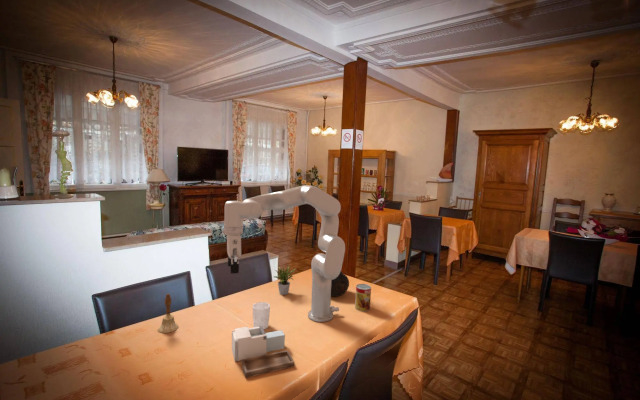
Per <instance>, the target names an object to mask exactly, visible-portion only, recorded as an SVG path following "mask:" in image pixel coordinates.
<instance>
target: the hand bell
mask: <svg viewBox="0 0 640 400" xmlns="http://www.w3.org/2000/svg"><path fill="white" fill-rule="evenodd" d="M164 305H165V311H166V312H165V314H166V315H164V316H162V320H161V324H160V325H159V326H158V328H157V331H158V332H159V333H160V334H169V333H172V332H176V330H178V329H179V324H178V323H176V321H175V316H174V315H173V314H171V305H172V297H171V294H170V293H166V295H165V298H164Z"/></svg>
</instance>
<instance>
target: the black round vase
mask: <svg viewBox="0 0 640 400" xmlns="http://www.w3.org/2000/svg"><path fill="white" fill-rule="evenodd" d="M349 280H350V279H349V278H348V276H347V275H346V274H345V273H343V272H342V271H341V272H340V274H339V275H338V277H337V278H335V279H333V280H331V297H338V296H339V297H340V296H342V295H343V294H345V293H346V292H347V291H348V290H349V286H350V281H349Z"/></svg>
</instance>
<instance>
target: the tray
mask: <svg viewBox="0 0 640 400" xmlns="http://www.w3.org/2000/svg"><path fill="white" fill-rule="evenodd" d="M289 351H290V350H289V349H285V350H282V351H276V352H271V353H266V355H261V356H256V357H252V358H247V359H242V360H240V361H241V362H240V365H241V368H242V371H243V375H244V379H246V378H250V377H254V376H255V377H256V376H260V375H263V374H268V373H273V372H277V371H280V370H281V371H282V370H284V369H291V368H293V367H295V360H294V358H293V357H292V354H291V353H290V352H289Z"/></svg>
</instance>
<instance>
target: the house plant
mask: <svg viewBox="0 0 640 400" xmlns="http://www.w3.org/2000/svg"><path fill="white" fill-rule="evenodd" d="M290 268H291V266H287V267H286V269H285V268H284V266H282V268H281V267H280V266H278V270H279V271H278V270H276V269H275V271H276V273H277V274H278V275H277V276H276V275H275V276H273V278H276V279H278V280H279V281H278V282H277V286H278V292H279V295H282V296H286V295H288V294H289V291H290V285H291V281H290V280H294V276H295V274H292V273H294V272H295V270H296V268H294V269H292V270H290Z"/></svg>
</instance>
